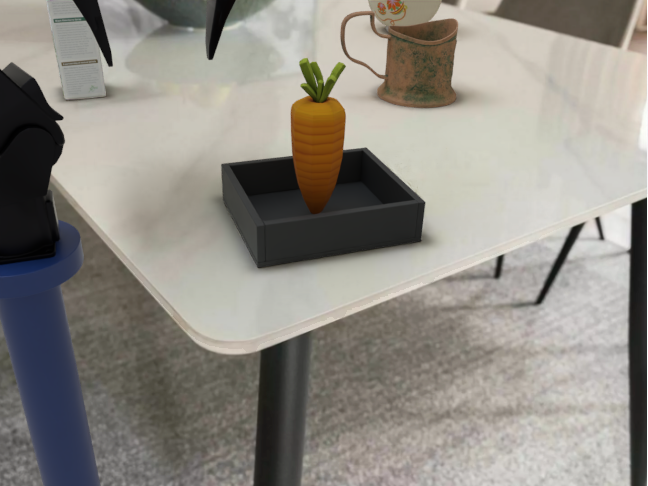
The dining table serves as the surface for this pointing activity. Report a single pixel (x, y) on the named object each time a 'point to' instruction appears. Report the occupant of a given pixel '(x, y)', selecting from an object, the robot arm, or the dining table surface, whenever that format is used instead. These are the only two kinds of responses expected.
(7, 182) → the robot arm
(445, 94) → the mug
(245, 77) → the dining table surface
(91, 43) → the syrup box
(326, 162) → the carrot
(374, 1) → the bowl
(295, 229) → the tray
